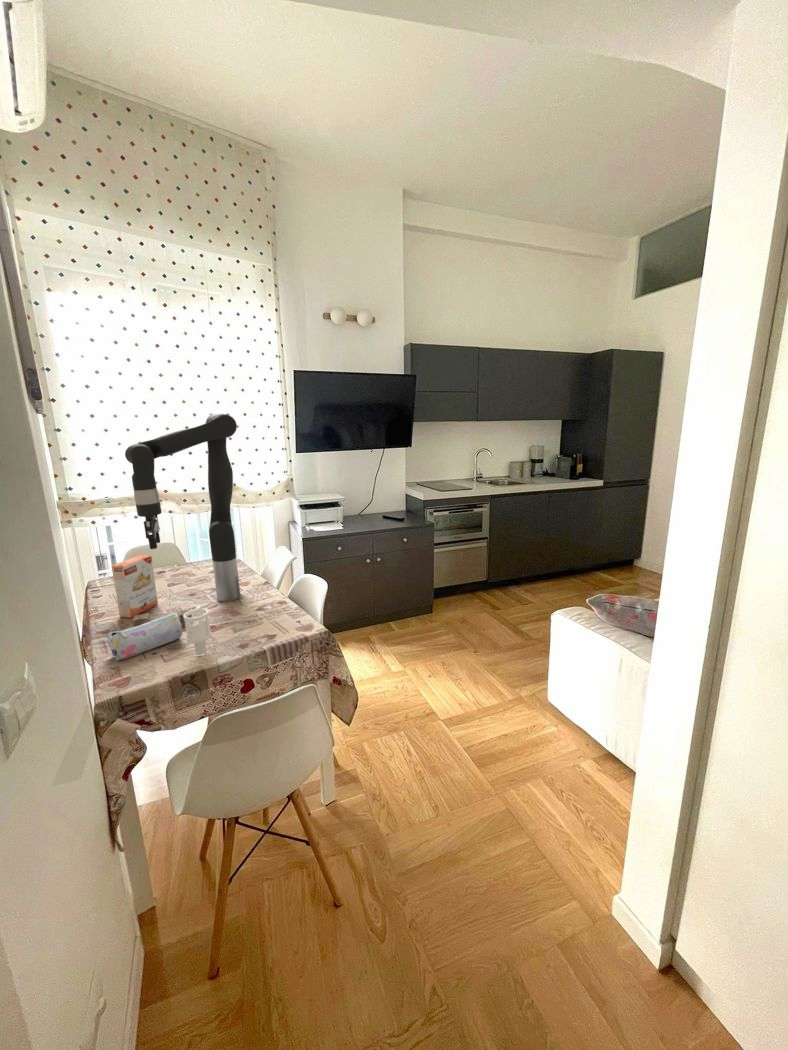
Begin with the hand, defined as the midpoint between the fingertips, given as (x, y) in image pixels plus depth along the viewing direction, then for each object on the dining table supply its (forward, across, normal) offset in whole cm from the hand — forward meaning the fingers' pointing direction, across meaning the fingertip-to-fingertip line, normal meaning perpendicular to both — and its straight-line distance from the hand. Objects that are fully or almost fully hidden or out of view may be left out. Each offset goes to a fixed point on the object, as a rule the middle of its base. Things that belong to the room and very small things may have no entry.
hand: (155, 545), depth 155 cm
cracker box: (+29, +13, +11) cm, 33 cm away
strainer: (+29, -34, -13) cm, 46 cm away
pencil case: (+29, -23, +4) cm, 37 cm away
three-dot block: (+28, -5, +8) cm, 30 cm away
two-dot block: (+29, -8, -6) cm, 30 cm away
